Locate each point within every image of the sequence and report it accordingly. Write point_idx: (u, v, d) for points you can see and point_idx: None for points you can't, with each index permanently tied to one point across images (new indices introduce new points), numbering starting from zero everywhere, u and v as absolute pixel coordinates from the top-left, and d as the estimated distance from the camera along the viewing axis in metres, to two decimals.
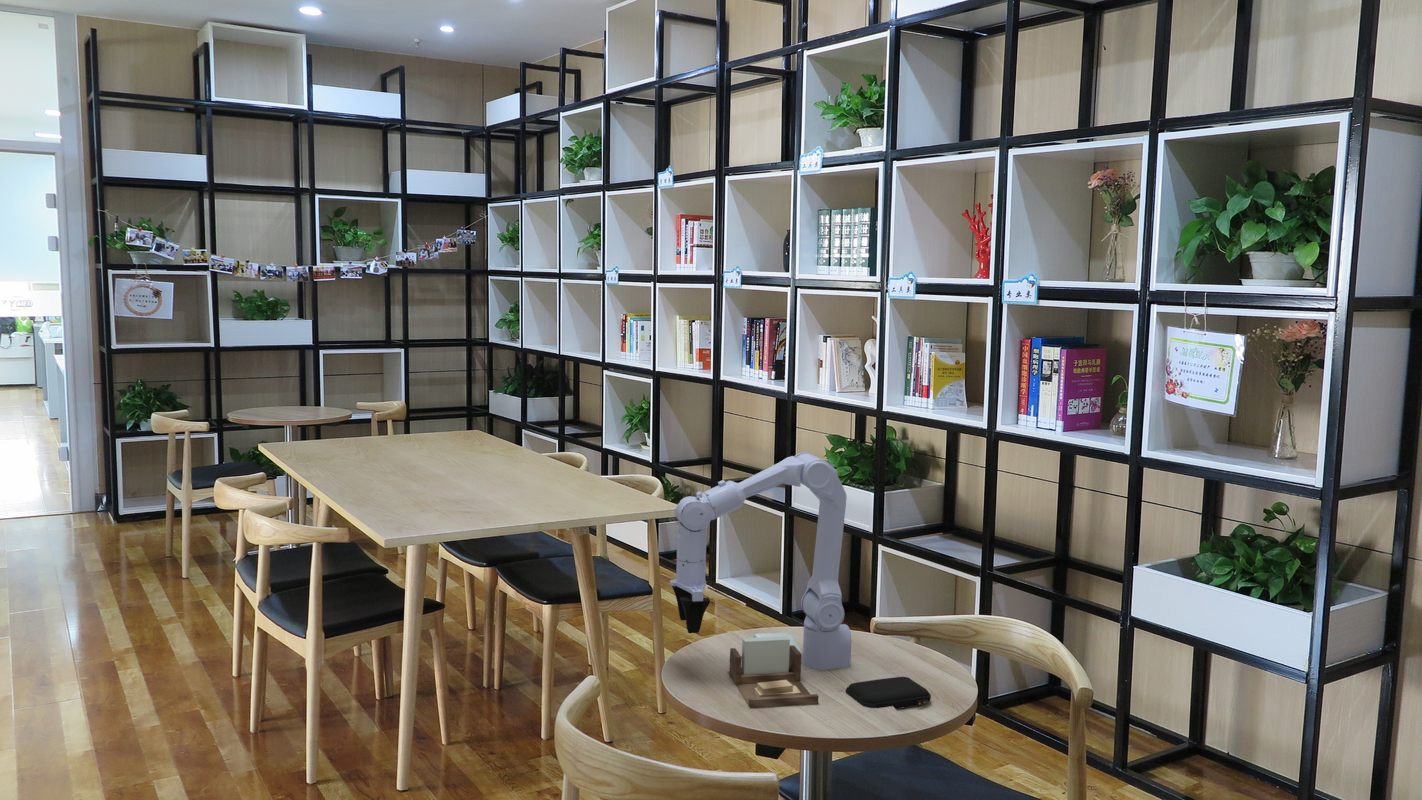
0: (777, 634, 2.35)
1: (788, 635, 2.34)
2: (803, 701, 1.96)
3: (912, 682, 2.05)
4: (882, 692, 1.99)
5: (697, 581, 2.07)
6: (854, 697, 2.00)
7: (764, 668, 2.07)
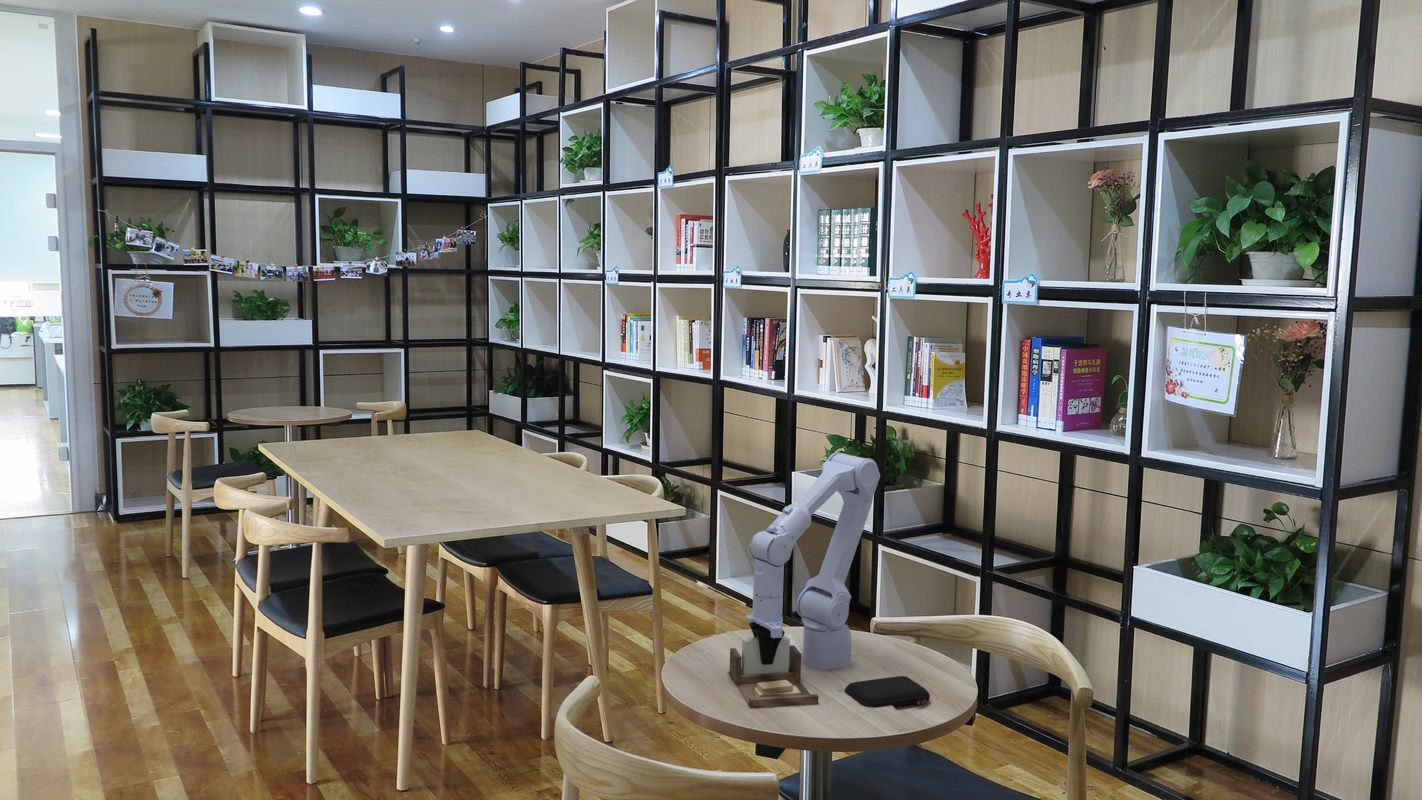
0: None
1: (788, 635, 2.34)
2: (803, 701, 1.96)
3: (911, 681, 2.05)
4: (881, 691, 2.00)
5: (774, 617, 2.05)
6: (853, 696, 2.00)
7: (764, 668, 2.07)
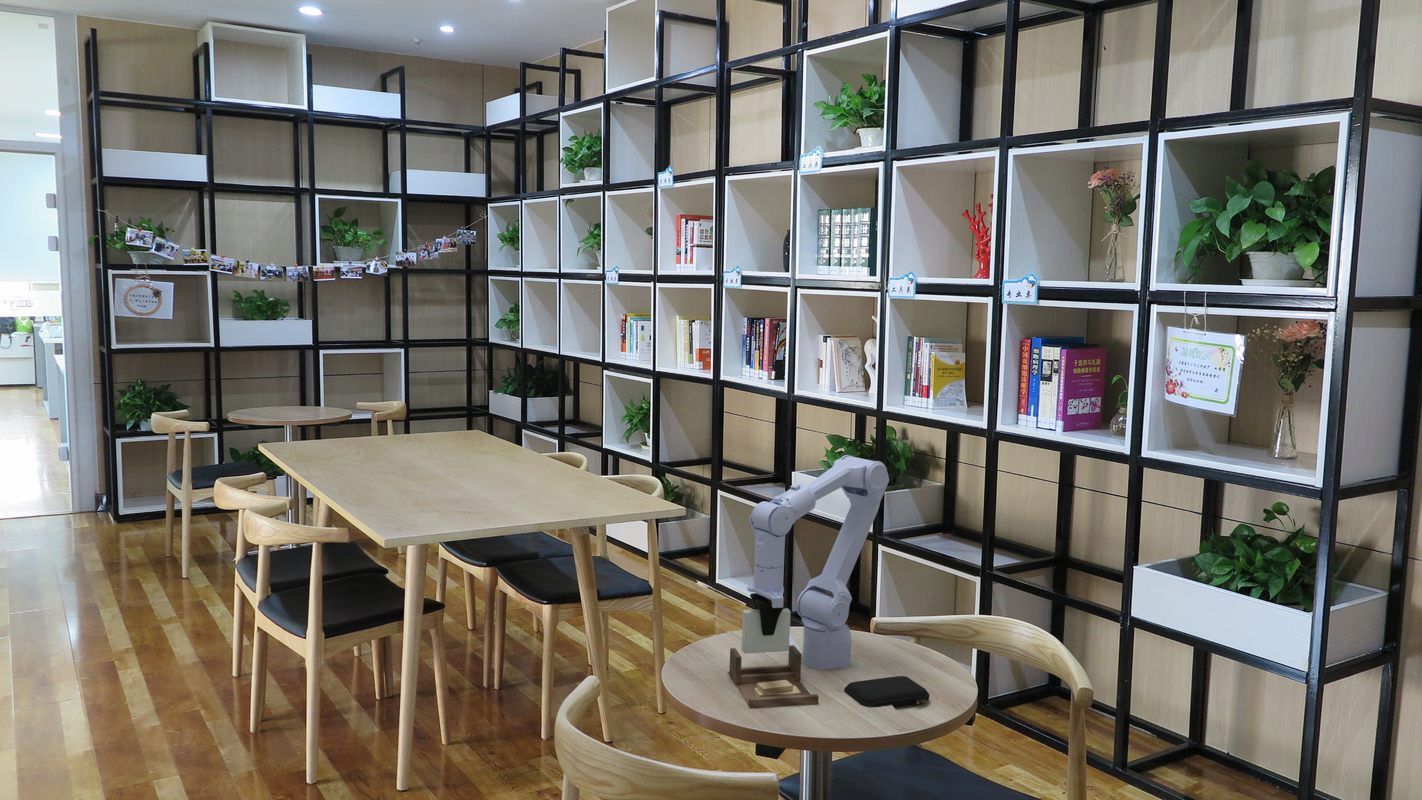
0: None
1: None
2: (803, 701, 1.96)
3: (911, 681, 2.05)
4: (880, 691, 2.00)
5: (775, 587, 2.04)
6: (852, 696, 2.00)
7: (765, 640, 2.07)
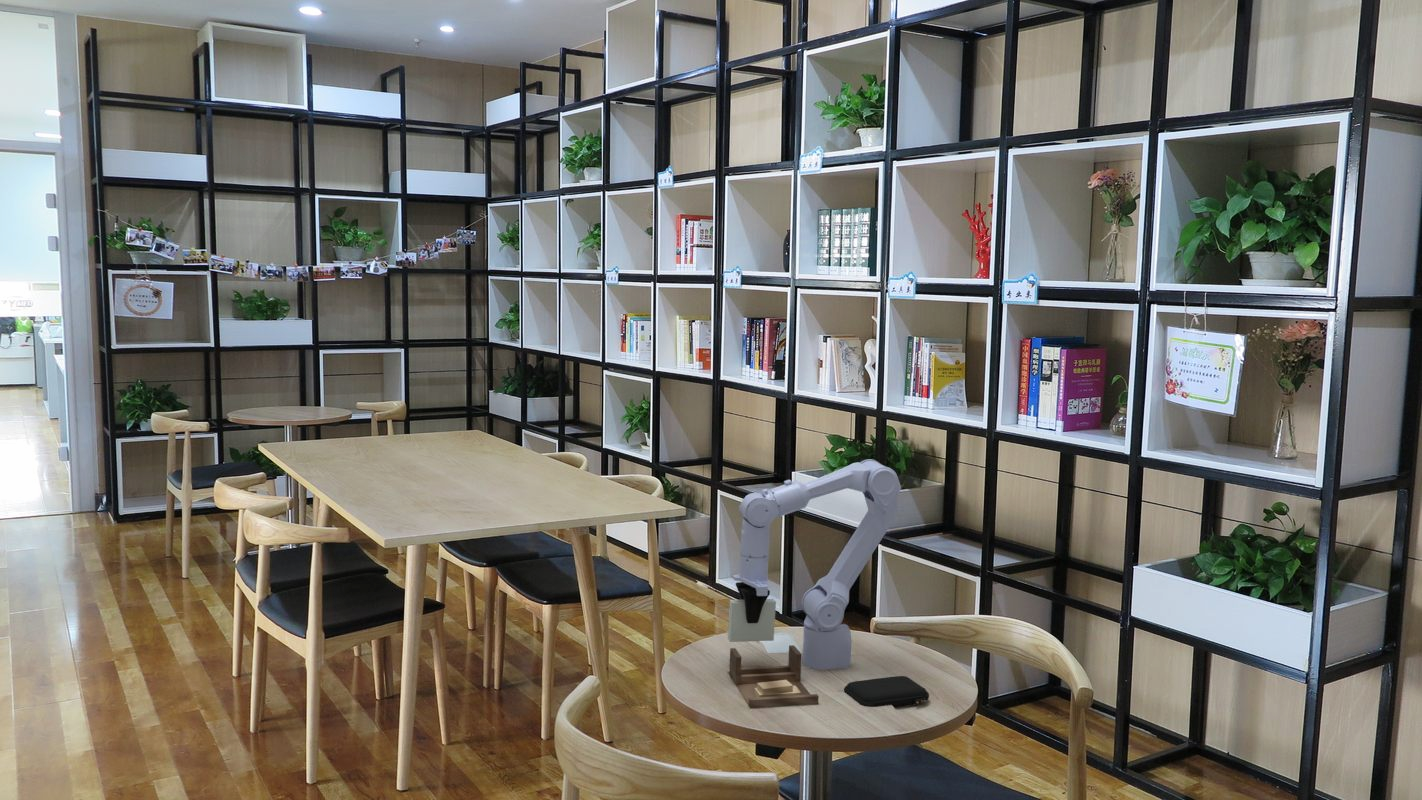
0: (777, 634, 2.35)
1: (788, 635, 2.34)
2: (803, 701, 1.96)
3: (911, 681, 2.05)
4: (880, 690, 2.00)
5: (760, 576, 2.10)
6: (852, 696, 2.00)
7: (751, 629, 2.13)
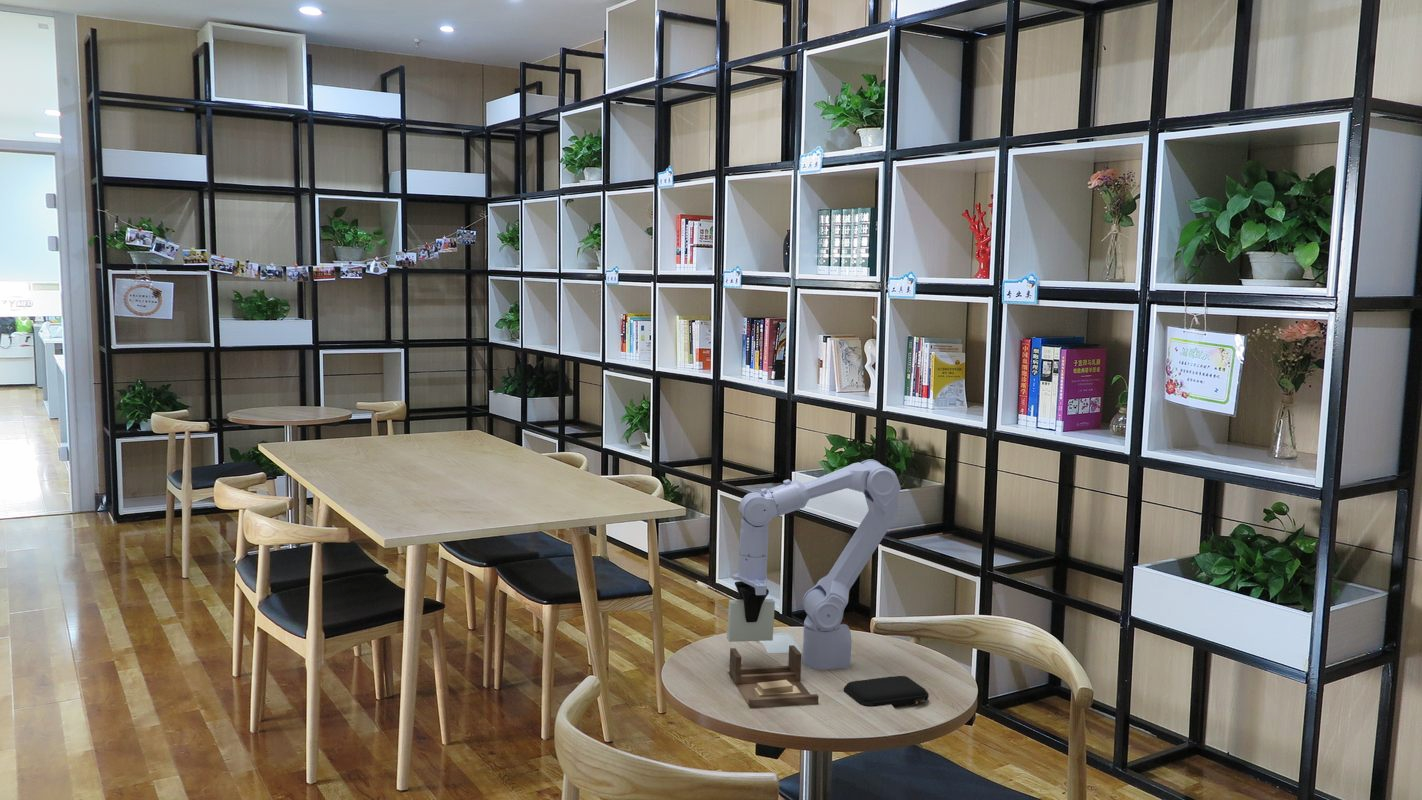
0: (777, 634, 2.35)
1: (788, 635, 2.34)
2: (803, 701, 1.96)
3: (910, 681, 2.05)
4: (879, 690, 2.00)
5: (759, 575, 2.11)
6: (851, 695, 2.01)
7: (750, 629, 2.14)
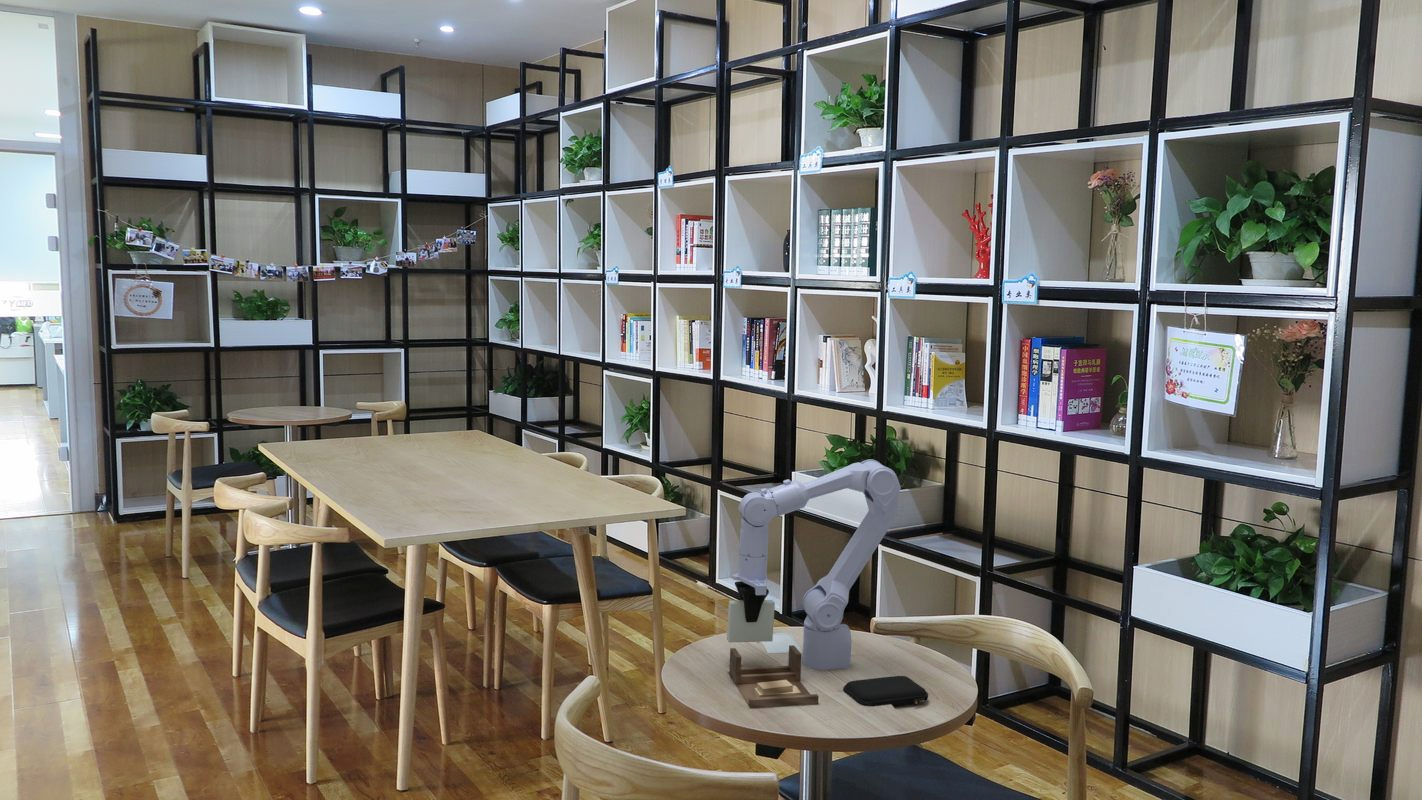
0: (777, 634, 2.35)
1: (788, 635, 2.34)
2: (803, 701, 1.96)
3: (910, 681, 2.05)
4: (878, 690, 2.00)
5: (759, 575, 2.11)
6: (851, 695, 2.01)
7: (749, 630, 2.14)
